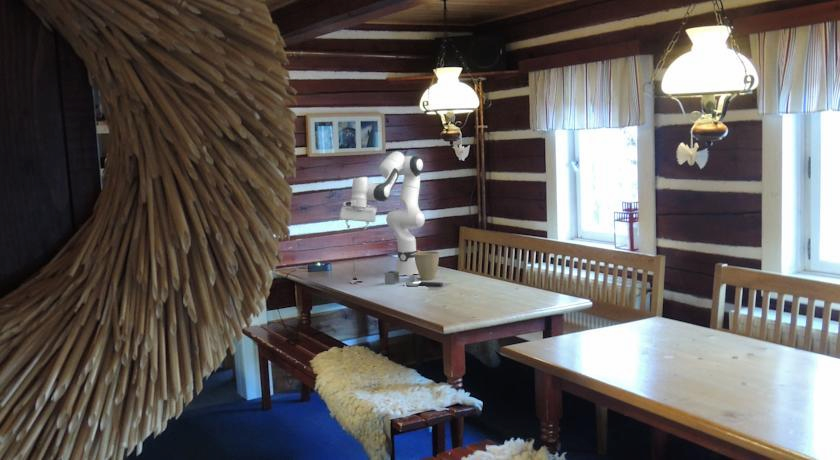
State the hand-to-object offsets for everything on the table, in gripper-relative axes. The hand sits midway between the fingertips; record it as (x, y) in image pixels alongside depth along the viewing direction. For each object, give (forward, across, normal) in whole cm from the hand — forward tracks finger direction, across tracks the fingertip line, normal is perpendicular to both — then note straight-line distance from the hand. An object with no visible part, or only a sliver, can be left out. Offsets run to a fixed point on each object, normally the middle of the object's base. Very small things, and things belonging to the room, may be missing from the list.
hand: (356, 228), depth 440 cm
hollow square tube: (+29, -23, -9) cm, 38 cm away
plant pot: (+26, -44, -13) cm, 53 cm away
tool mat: (+29, -39, +7) cm, 49 cm away
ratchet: (+29, -39, +8) cm, 49 cm away
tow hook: (+30, -5, -22) cm, 38 cm away
